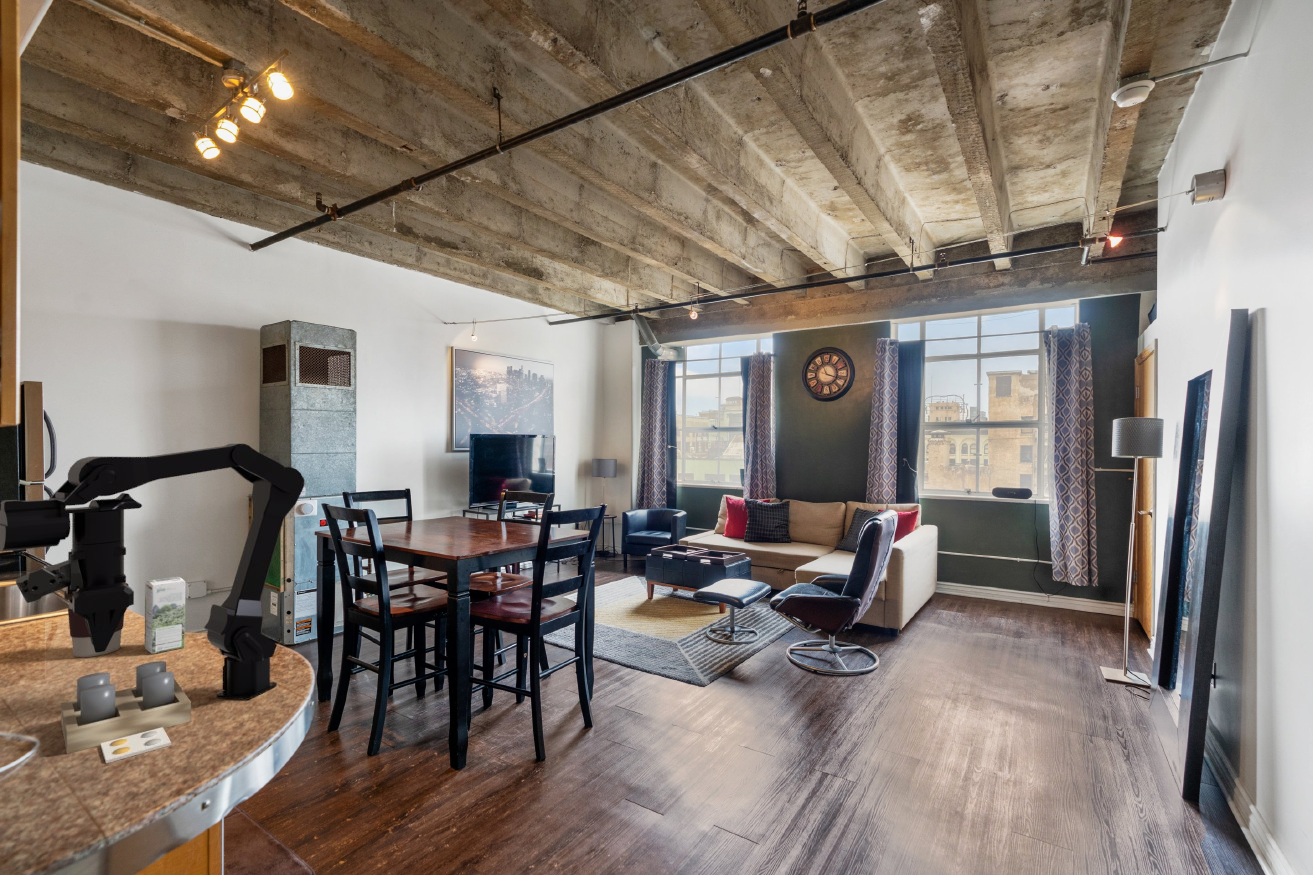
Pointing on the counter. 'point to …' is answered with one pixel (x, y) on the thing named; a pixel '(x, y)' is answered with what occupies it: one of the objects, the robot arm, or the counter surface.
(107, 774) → the counter surface
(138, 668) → the button
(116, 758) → the pattern tile
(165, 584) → the syrup box
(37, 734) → the counter surface
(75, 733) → the button board
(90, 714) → the button
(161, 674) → the button
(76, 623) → the coffee cup
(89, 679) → the button
